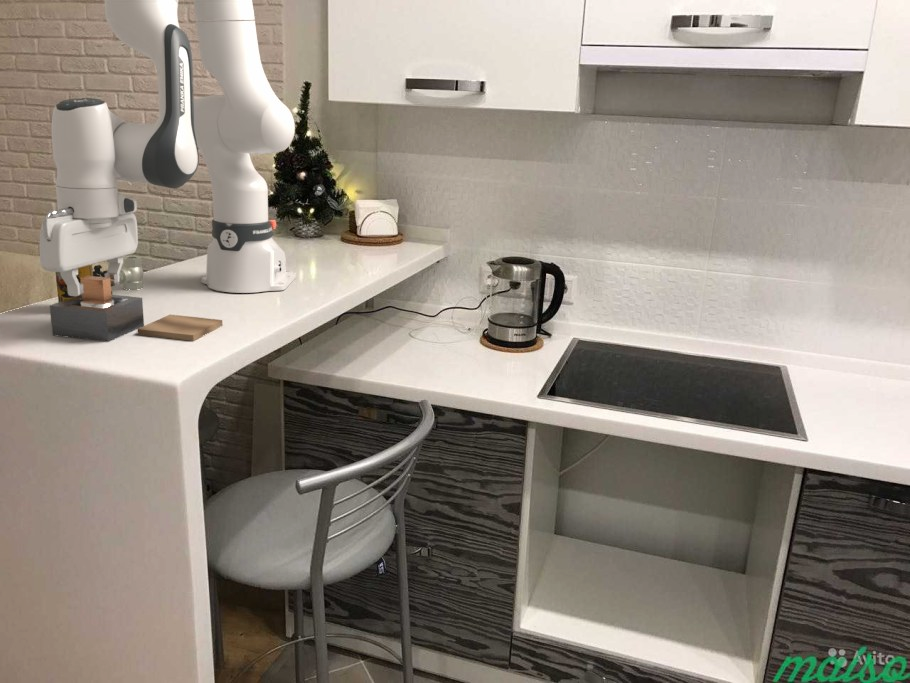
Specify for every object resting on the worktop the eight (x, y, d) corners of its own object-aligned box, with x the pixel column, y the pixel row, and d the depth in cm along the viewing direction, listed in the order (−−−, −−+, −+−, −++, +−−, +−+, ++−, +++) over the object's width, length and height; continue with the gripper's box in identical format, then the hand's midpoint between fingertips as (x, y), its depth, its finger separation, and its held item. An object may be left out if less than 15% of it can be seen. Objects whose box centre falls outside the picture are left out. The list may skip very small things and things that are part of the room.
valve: (126, 285, 158) (84, 297, 147) (124, 254, 156) (81, 263, 145) (153, 289, 156) (112, 301, 145) (151, 257, 154) (110, 267, 143)
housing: (91, 319, 132) (89, 292, 130) (144, 325, 130) (142, 297, 129) (52, 335, 122) (49, 305, 121) (108, 341, 121) (105, 311, 119)
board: (170, 319, 135) (170, 314, 134) (222, 325, 133) (222, 320, 133) (137, 334, 125) (137, 328, 125) (193, 341, 124) (193, 335, 123)
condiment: (58, 315, 133) (51, 248, 130) (53, 304, 140) (47, 240, 137) (103, 312, 137) (97, 247, 134) (96, 301, 144) (91, 239, 141)
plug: (95, 325, 129) (91, 273, 127) (122, 328, 128) (118, 276, 126) (76, 333, 124) (71, 279, 122) (104, 336, 124) (99, 282, 121)
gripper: (62, 213, 110) (70, 305, 114) (142, 200, 129) (147, 279, 133) (23, 209, 111) (32, 300, 115) (109, 197, 130) (114, 276, 134)
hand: (94, 289), depth 124 cm, fingers open, 8 cm apart
